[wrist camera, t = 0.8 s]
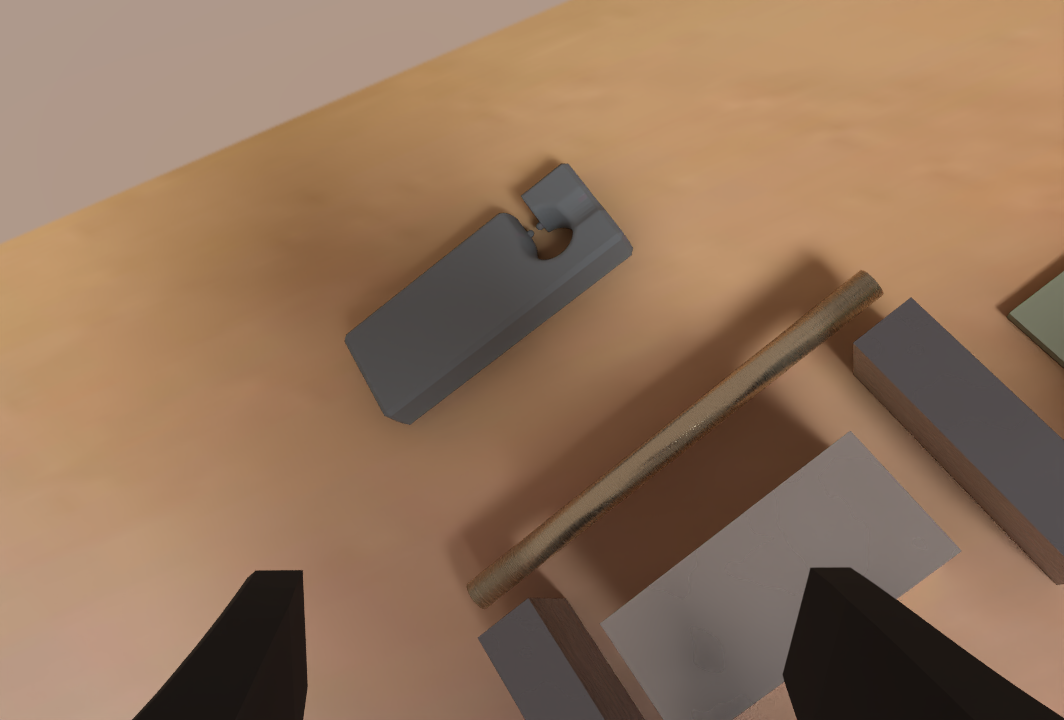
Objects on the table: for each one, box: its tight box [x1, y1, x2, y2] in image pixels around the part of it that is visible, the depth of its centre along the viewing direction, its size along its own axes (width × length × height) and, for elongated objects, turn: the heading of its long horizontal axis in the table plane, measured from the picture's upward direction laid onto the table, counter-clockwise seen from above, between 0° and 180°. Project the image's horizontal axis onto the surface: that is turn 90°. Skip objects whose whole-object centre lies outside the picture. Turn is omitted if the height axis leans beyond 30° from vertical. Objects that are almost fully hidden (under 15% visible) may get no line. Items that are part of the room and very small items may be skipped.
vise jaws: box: [467, 270, 1064, 720], centre depth 24 cm, size 10×16×4 cm, turn 126°
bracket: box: [345, 164, 633, 425], centre depth 31 cm, size 4×11×2 cm, turn 123°
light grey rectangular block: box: [600, 431, 961, 720], centre depth 22 cm, size 4×8×6 cm, turn 126°
